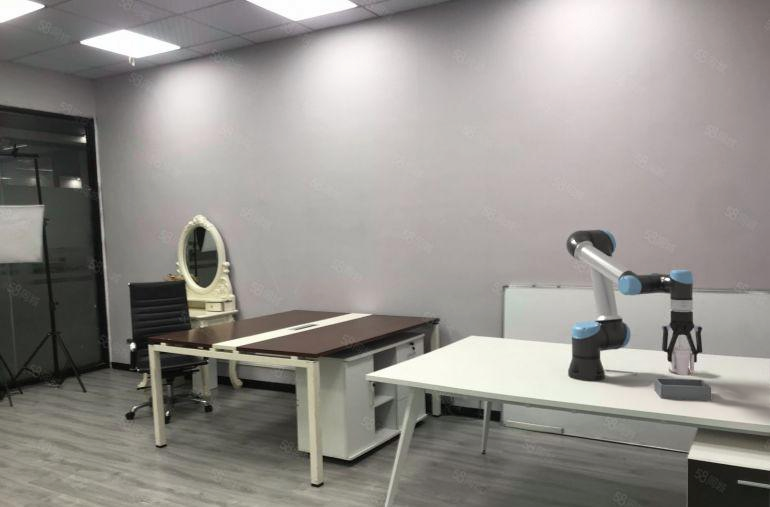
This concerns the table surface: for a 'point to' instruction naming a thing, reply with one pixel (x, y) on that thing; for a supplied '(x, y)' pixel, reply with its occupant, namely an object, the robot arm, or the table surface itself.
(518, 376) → the table surface
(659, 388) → the tray
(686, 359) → the smoothie
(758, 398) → the table surface
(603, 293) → the robot arm
